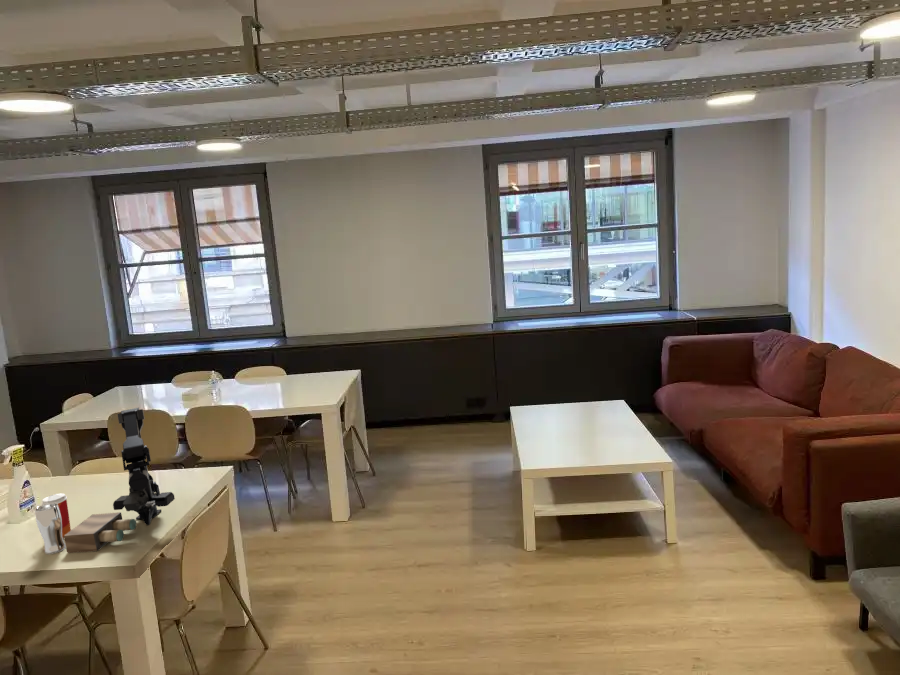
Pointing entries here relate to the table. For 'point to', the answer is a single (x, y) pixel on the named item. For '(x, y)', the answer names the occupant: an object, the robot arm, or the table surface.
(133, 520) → the dowel
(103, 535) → the dowel
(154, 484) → the robot arm
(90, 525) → the socket block
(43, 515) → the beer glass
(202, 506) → the table surface
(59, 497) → the red canister
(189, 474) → the table surface
